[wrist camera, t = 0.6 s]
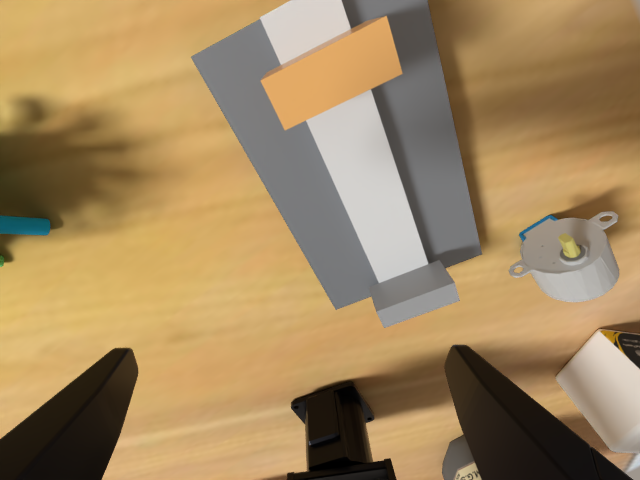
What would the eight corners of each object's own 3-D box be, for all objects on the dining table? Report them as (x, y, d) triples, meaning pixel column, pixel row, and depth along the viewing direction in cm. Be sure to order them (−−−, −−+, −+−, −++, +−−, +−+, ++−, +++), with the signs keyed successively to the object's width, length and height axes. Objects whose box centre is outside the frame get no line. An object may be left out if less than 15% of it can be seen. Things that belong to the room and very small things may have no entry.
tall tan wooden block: (380, 67, 16) (402, 73, 13) (286, 113, 16) (285, 130, 13) (366, 20, 15) (386, 15, 12) (266, 72, 15) (260, 80, 12)
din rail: (473, 245, 24) (507, 283, 20) (334, 298, 26) (341, 343, 22) (405, -58, 15) (443, -91, 11) (196, 55, 17) (169, 60, 13)
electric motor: (574, 177, 22) (644, 211, 17) (594, 225, 24) (660, 265, 20) (479, 237, 24) (521, 281, 19) (506, 277, 26) (548, 324, 22)
